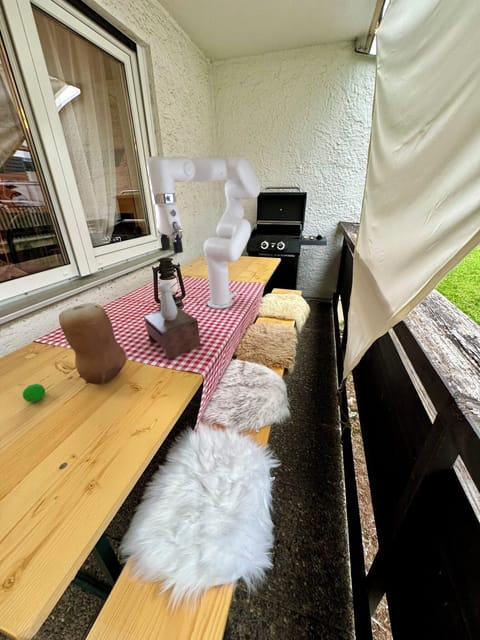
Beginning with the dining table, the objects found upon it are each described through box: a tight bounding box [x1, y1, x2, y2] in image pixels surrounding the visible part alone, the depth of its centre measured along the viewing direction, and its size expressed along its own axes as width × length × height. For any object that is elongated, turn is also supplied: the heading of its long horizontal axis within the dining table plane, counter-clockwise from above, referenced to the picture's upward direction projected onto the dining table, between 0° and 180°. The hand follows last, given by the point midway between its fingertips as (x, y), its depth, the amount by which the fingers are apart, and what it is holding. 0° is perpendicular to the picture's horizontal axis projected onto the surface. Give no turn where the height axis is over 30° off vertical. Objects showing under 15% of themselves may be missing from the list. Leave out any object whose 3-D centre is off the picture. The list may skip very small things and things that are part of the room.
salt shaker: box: [157, 281, 177, 321], centre depth 89 cm, size 6×6×13 cm
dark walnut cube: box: [143, 305, 202, 361], centre depth 95 cm, size 13×16×11 cm
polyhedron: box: [22, 383, 46, 403], centre depth 73 cm, size 5×5×5 cm
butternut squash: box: [58, 302, 127, 385], centre depth 75 cm, size 14×13×25 cm
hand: (172, 250), depth 95 cm, fingers open, 9 cm apart
